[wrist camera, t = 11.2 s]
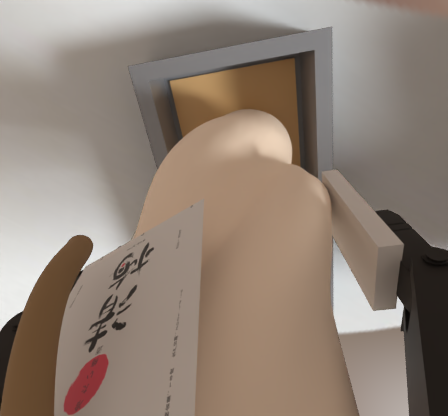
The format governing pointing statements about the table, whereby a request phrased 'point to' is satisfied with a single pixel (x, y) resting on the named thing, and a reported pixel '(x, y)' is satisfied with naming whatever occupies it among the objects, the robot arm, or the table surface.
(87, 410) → the water bottle
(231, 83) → the bottle caddy
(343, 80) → the table surface
